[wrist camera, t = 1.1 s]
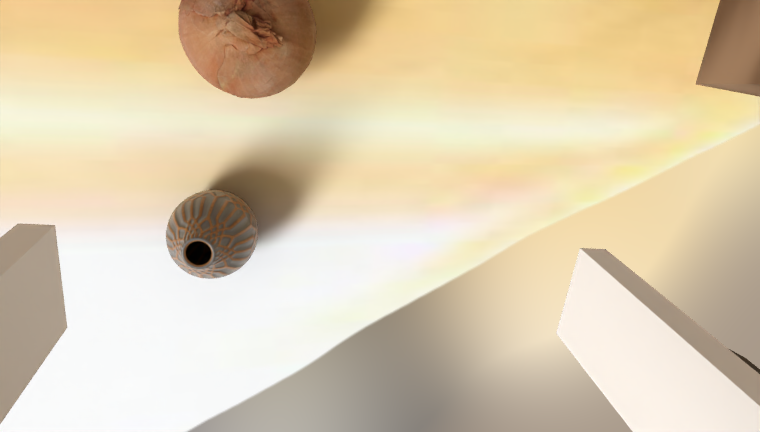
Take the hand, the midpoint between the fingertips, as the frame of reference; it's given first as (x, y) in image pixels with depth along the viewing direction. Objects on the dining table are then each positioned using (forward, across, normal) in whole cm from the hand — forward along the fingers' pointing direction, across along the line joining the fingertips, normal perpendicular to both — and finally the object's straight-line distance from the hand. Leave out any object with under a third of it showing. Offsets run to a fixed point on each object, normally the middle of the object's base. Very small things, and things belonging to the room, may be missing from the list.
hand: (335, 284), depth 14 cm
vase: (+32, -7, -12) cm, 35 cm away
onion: (+34, -4, +3) cm, 35 cm away
